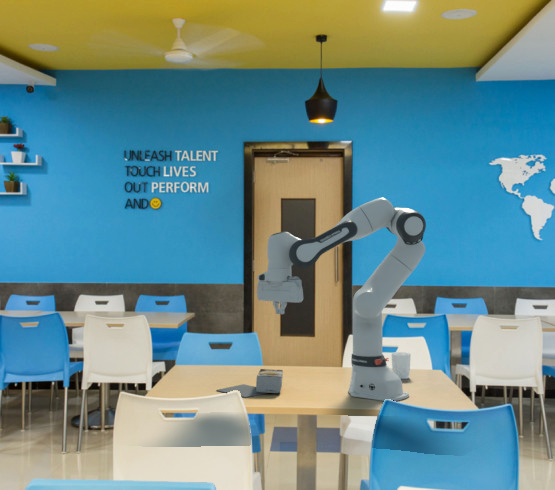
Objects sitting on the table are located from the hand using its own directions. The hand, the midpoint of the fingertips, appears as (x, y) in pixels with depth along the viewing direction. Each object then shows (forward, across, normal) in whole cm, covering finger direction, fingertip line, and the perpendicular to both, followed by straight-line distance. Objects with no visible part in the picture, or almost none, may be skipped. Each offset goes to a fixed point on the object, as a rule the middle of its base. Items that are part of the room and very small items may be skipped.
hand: (280, 314), depth 214 cm
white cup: (+31, -15, -59) cm, 68 cm away
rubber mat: (+29, +14, +5) cm, 33 cm away
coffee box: (+26, +3, +3) cm, 26 cm away
